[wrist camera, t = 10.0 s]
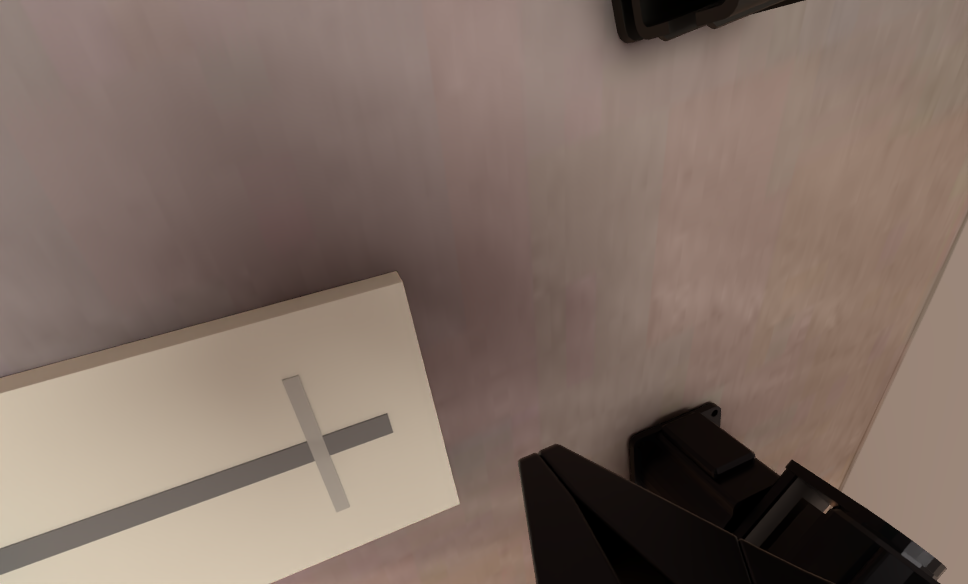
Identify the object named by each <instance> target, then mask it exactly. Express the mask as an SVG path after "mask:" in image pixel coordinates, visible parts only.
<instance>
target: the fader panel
mask: <svg viewBox="0 0 968 584" xmlns="http://www.w3.org/2000/svg"><path fill="white" fill-rule="evenodd" d="M459 504H460V503H459V499H458V495H457V491H456V487H455V483H454V479H453V476H452V472H451V468H450V464H449V460H448V456H447V452H446V448H445V444H444V441H443V437H442V433H441V429H440V425H439V421H438V417H437V413H436V409H435V406H434V402H433V398H432V394H431V390H430V386H429V382H428V378H427V374H426V371H425V367H424V363H423V359H422V355H421V351H420V347H419V343H418V340H417V336H416V332H415V328H414V324H413V320H412V316H411V312H410V308H409V305H408V301H407V297H406V293H405V289H404V285H403V282H402V280H401V278H400V276H399V275H398V273H397V271H394V272H391V273H387V274H383V275H380V276H376V277H372V278H368V279H365V280H361V281H357V282H354V283H350V284H346V285H343V286H339V287H335V288H331V289H328V290H324V291H320V292H317V293H313V294H309V295H306V296H302V297H298V298H294V299H291V300H287V301H283V302H280V303H276V304H272V305H268V306H265V307H261V308H257V309H254V310H250V311H246V312H243V313H239V314H235V315H231V316H228V317H224V318H220V319H217V320H213V321H209V322H206V323H202V324H198V325H194V326H191V327H187V328H183V329H180V330H176V331H172V332H169V333H165V334H161V335H157V336H154V337H150V338H146V339H143V340H139V341H135V342H132V343H128V344H124V345H120V346H117V347H113V348H109V349H106V350H102V351H98V352H94V353H91V354H87V355H83V356H80V357H76V358H72V359H69V360H65V361H61V362H57V363H54V364H50V365H46V366H43V367H39V368H35V369H32V370H28V371H24V372H20V373H17V374H13V375H9V376H6V377H2V378H0V584H270V583H273V582H275V581H277V580H280V579H282V578H284V577H287V576H289V575H292V574H294V573H296V572H299V571H301V570H304V569H306V568H308V567H311V566H313V565H316V564H318V563H320V562H323V561H325V560H327V559H330V558H332V557H335V556H337V555H339V554H342V553H344V552H347V551H349V550H351V549H354V548H356V547H358V546H361V545H363V544H366V543H368V542H370V541H373V540H375V539H378V538H380V537H382V536H385V535H387V534H389V533H392V532H394V531H397V530H399V529H401V528H404V527H406V526H409V525H411V524H413V523H416V522H418V521H420V520H423V519H425V518H428V517H430V516H432V515H435V514H437V513H440V512H442V511H444V510H447V509H449V508H452V507H454V506H456V505H459Z"/></svg>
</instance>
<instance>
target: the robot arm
mask: <svg viewBox="0 0 968 584" xmlns="http://www.w3.org/2000/svg"><path fill="white" fill-rule="evenodd" d="M720 419H721V408H720V407H719V406H717V405H716V404H715V403H710V404H707V405H705V406H703V407H700V408H698V409H695V410H693V411H691V412H688V413H686V414H684V415H681V416H679V417H676V418H674V419H672V420H669V421H667V422H665V423H662V424H660V425H657V426H655V427H653V428H650V429H648V430H646V431H643V432H641V433H639V434H636V435H635V436H633V437H632V438H631V440H630V443H629V446H630V469H631V481H629V480H627V479H625V478H623V477H621V476H619V475H617V474H615V473H613V472H612V471H610V470H608V469H606V468H604V467H602V466H600V465H598V464H596V463H594V462H592V461H590V460H588V459H586V458H584V457H583V456H581V455H579V454H577V453H575V452H573V451H571V450H569V449H567V448H565V447H563V446H561V445H559V444H554V445H552V446H549V447H547V448H545V449H542V450H540V451H539V453H538V454H537V453H533V454H531V455H528V456H526V457H524V458H521V459H520V460H519V461H518V466H519V473H520V479H521V486H522V492H523V499H524V506H525V512H526V519H527V525H528V532H529V539H530V545H531V552H532V558H533V565H534V572H535V578H536V584H940V583H938V582H937V579H938V578H939V577H940V576H941V575H942V574H943V573H944V572H945V570H946V569H947V568H946V567H945V566H944V565H943V564H942V563H941V562H939V561H938V560H937V559H936V558H934V557H933V556H932V555H931V554H929V553H928V552H927V551H925V550H924V549H923V548H921V547H920V546H919V545H917V544H916V543H915V542H913V541H912V540H911V539H909V538H908V537H906V536H905V535H904V534H902V533H901V532H900V531H898V530H897V529H895V528H894V527H892V526H891V525H890V524H888V523H887V522H885V521H884V520H882V519H881V518H880V517H878V516H877V515H875V514H874V513H872V512H871V511H869V510H868V509H866V508H865V507H863V506H862V505H860V504H859V503H857V502H856V501H854V500H853V499H851V498H850V497H848V496H846V495H845V494H844V493H842V492H841V491H839V490H838V489H836V488H834V487H833V486H831V485H830V484H828V483H827V482H825V481H824V480H822V479H821V478H819V477H818V476H816V475H815V474H813V473H812V472H810V471H809V470H807V469H806V468H804V467H803V466H801V465H800V464H798V463H797V462H795V461H793V460H791V461H790V462H789V463H788V464H787V465H786V467H785V468H786V470H785V471H784V472H783V473H782V475H781V476H779V475H778V474H777V473H775V472H774V471H773V470H771V469H770V468H769V467H767V466H766V465H765V464H763V463H762V462H761V461H759V460H758V459H757V458H755V454H754V452H752V451H751V450H750V449H748V448H747V447H746V446H744V445H743V444H742V443H740V442H739V441H738V440H736V439H735V438H734V437H732V436H731V435H729V434H728V433H727V432H725V431H724V430H723V429H721V428H720ZM829 505H831V506H833V508H832V509H830V510H829V511H828V512H827V513H826V514H824V513H823V512H824V510H825V509H826V508H827V507H828V506H829Z"/></svg>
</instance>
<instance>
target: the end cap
mask: <svg viewBox="0 0 968 584" xmlns="http://www.w3.org/2000/svg"><path fill="white" fill-rule="evenodd" d="M800 1H804V0H612V3H613V9H614V15H615V20H616V26H617V31H618V34H619V36H620V39H621V40H623V41H624V42H626V43H631V42H636V41H639V40H642V39H653V38H656V37H659V38H660V39H661V40H663V41H668V40H671V39H673V38H676V37H678V36H681V35H683V34H685V33H688V32H690V31H693V30H695V29H698V28H700V27H703V26H705V25H707V26H709V27H710V28H712V29H717V28H719V27H721V26H724V25H726V24H729V23H731V22H734V21H736V20H738V19H741V18H743V17H746V16H748V15H751V14H755V13H758V12H762V11H766V10H770V9H774V8H777V7H781V6H785V5H789V4H793V3H796V2H800Z"/></svg>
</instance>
